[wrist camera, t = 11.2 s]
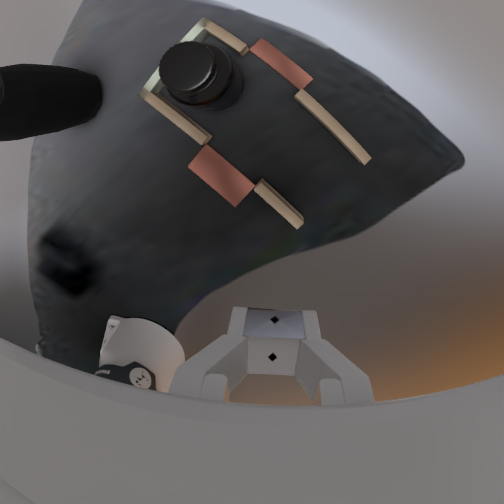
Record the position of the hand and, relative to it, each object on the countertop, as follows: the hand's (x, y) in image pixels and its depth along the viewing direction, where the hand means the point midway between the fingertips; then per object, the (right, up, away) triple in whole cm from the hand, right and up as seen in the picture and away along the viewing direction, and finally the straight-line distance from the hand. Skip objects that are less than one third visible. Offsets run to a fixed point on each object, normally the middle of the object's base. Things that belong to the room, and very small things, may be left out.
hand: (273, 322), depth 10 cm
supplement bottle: (-5, +23, +19) cm, 30 cm away
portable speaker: (-25, +25, +20) cm, 41 cm away
